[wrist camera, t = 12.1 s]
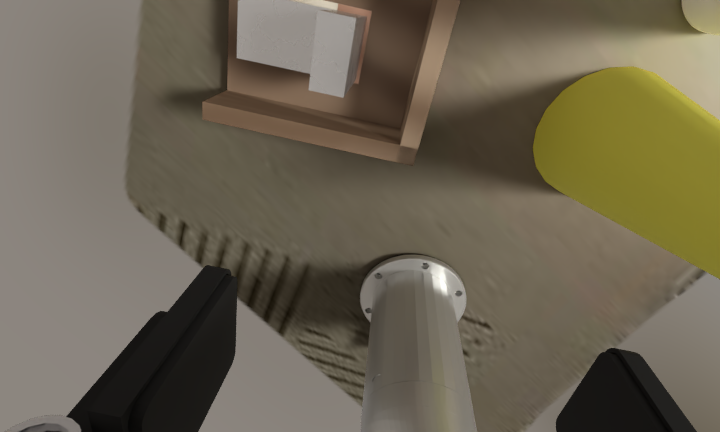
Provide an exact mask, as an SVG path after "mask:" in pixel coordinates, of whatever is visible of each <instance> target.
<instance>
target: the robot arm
mask: <svg viewBox="0 0 720 432" xmlns="http://www.w3.org/2000/svg"><path fill="white" fill-rule="evenodd" d="M360 304H361V308H362V311H363V313H364V315H365V317H366V318H367V319H368V320H369V322H370V333H369V344H368V354H367V364H366V375H365V385H364V396H363V406H362V416H361V432H477V429H476V424H475V418H474V412H473V407H472V402H471V396H470V390H469V385H468V379H467V374H466V368H465V362H464V357H463V351H462V346H461V340H460V335H459V329H458V324H457V322H458V321H459V320H460V318H461V316H462V315H463V313H464V310H465V307H466V293H465V288H464V285H463V282H462V280H461V279H460V277H459V275H458V274H457V273H456V272H455V271H454V270H453V269H452V268H451V267H450V266H448V265H447V264H445V263H444V262H442V261H440V260H437V259H435V258H432V257H428V256H424V255H414V254H412V255H401V256H396V257H392V258H390V259H387V260H385V261H383V262H381V263H380V264H378V265H376V266H375V267H374V268H373V269H372V270H371V271H370V272H369V273H368V274H367V276H366V277H365V279H364V281H363V284H362V286H361V293H360ZM236 310H237V277H234V276H231V271H230V270H229V269H224V268H219V267H214V266H209V265H207V266H205V267H204V268H203V269H202V271H201V272H200V273H199V274H198V276H197V277H196V278H195V279H194V280H193V282H192V283H191V284H190V285H189V287H188V288H187V289H186V290H185V292H184V293H183V294H182V295H181V296H180V297H179V299H178V300H177V301H176V302H175V304H174V305H173V306H172V307H171V308H170V310H169V311H168V312H164V311H160V312H158V313H156V314H155V315H154V316H153V317H152V318H151V319H150V320H149V321H148V322H147V323H146V325H145V326H144V327H143V328H142V329H141V330H140V331H139V333H138V334H137V335H136V336H135V337H134V338H133V340H132V341H131V342H130V343H129V344H128V345H127V347H126V348H125V349H124V350H123V351H122V352H121V354H120V355H119V356H118V357H117V358H116V359H115V361H114V362H113V363H112V364H111V365H110V366H109V368H108V369H107V370H106V371H105V372H104V373H103V374H102V376H101V377H100V378H99V379H98V380H97V382H96V383H95V384H94V385H93V386H92V387H91V389H90V390H89V391H88V392H87V393H86V394H85V396H84V397H83V398H82V399H81V400H80V401H79V403H78V404H77V405H76V406H75V407H74V408H73V409H72V411H71V412H70V413H69V414H68V415H67V416H66V417H65V416H61V415H46V416H41V417H37V418H33V419H29V420H27V421H25V422H22V423H20V424H18V425H16V426H13V427H12V428H10V429H8V430H7V431H5V432H198V431H199V429H200V427H201V425H202V423H203V421H204V419H205V417H206V415H207V413H208V411H209V409H210V407H211V404H212V403H213V401H214V399H215V397H216V395H217V393H218V391H219V389H220V387H221V385H222V383H223V381H224V379H225V377H226V375H227V373H228V371H229V369H230V367H231V365H232V363H233V360H234V356H235V346H236ZM556 431H557V432H697V431H696V430H695V429H694V427H693V426H692V425H691V423H690V422H689V421H688V419H687V418H686V416H685V415H684V414H683V412H682V411H681V410H680V408H679V407H678V405H677V404H676V403H675V401H674V400H673V399H672V397H671V396H670V394H669V393H668V392H667V390H666V389H665V388H664V386H663V385H662V383H661V382H660V381H659V379H658V378H657V377H656V375H655V374H654V372H653V371H652V370H651V368H650V367H649V366H648V364H647V363H646V362H645V360H644V359H643V358H642V357H641V356H640V354H638V353H635V352H631V351H626V350H621V349H616V348H610V349H608V350H607V351H606V352H603V353H601V354H600V355H599V356H598V357H597V359H596V360H595V362H594V363H593V365H592V366H591V368H590V369H589V371H588V372H587V374H586V375H585V377H584V378H583V380H582V381H581V383H580V384H579V386H578V387H577V389H576V390H575V392H574V393H573V395H572V396H571V398H570V399H569V401H568V402H567V404H566V405H565V407H564V408H563V410H562V411H561V413H560V414H559V416H558V418H557V420H556Z"/></svg>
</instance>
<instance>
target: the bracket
mask: <svg viewBox="0 0 720 432" xmlns="http://www.w3.org/2000/svg"><path fill="white" fill-rule="evenodd" d="M366 19H367V16H362V15H358V14H353V13H349V12H344V11H339V10H335V9H330V8H325V7H321V6H316V5H312V4H307V3H302V2H298V1H293V0H238V18H237V58H239V59H244V60H248V61H253V62H257V63H262V64H267V65H271V66H276V67H281V68H285V69H290V70H294V71H299V72H304V73H308V74H310V81H309V90H310V91H314V92H319V93H324V94H328V95H333V96H338V97H342V98H344V96H345V95H346V93H347V92H348V90H349V89H350V87H351V86H352V85H353V83H354V82H355V80H356V76H357V71H358V65H359V59H360V53H361V48H362V42H363V36H364V30H365V25H366Z"/></svg>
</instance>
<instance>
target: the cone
mask: <svg viewBox="0 0 720 432" xmlns="http://www.w3.org/2000/svg"><path fill="white" fill-rule="evenodd" d="M533 153H534V159H535V164H536V168H537V169H538V171H539V172H540V174H541V176H542V177H543V179H544V180H545V182H547V183H548V184H550V185H551V186H552V187H554V188H555V189H557V190H558V191H559V192H561V193H563V194H565V195H567V196H568V197H570V198H572V199H574V200H576V201H578V202H579V203H581V204H583V205H585V206H587V207H589V208H590V209H592V210H594V211H596V212H598V213H600V214H601V215H603V216H605V217H607V218H609V219H611V220H612V221H614V222H616V223H618V224H620V225H622V226H623V227H625V228H627V229H629V230H631V231H632V232H634V233H636V234H638V235H640V236H642V237H643V238H645V239H647V240H649V241H651V242H653V243H654V244H656V245H658V246H660V247H662V248H664V249H665V250H667V251H669V252H671V253H673V254H675V255H676V256H678V257H680V258H682V259H684V260H686V261H687V262H689V263H691V264H693V265H695V266H697V267H698V268H700V269H702V270H704V271H706V272H708V273H709V274H711V275H713V276H715V277H717V278H719V279H720V121H719V120H718V119H717V118H715V117H714V116H713V115H711V114H710V113H709V112H707V111H706V110H704V109H703V108H702V107H700V106H699V105H698V104H696V103H695V102H694V101H692V100H691V99H689V98H688V97H687V96H685V95H684V94H683V93H681V92H680V91H679V90H677V89H676V88H674V87H673V86H672V85H670V84H669V83H668V82H666V81H665V80H664V79H662V78H661V77H659V76H658V75H657V74H655V73H653V72H650V71H646V70H643V69H640V68H637V67H614V68H607V69H604V70H601V71H598V72H595V73H592V74H589V75H586V76H584V77H583V78H581V79H580V80H578V81H577V82H575V83H574V84H572V85H570V86H569V87H567V88H566V89H564V90H563V91H562V92H561V93H560V94H559V95H558V97H557V98H556V99H555V100H554V101H553V102H552V103H551V104H550V105H549V106H548V108H547V109H546V110H545V112H544V114H543V116H542V118H541V120H540V122H539V124H538V126H537V128H536V132H535V138H534V144H533Z"/></svg>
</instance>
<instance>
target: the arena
mask: <svg viewBox="0 0 720 432" xmlns="http://www.w3.org/2000/svg"><path fill="white" fill-rule="evenodd" d="M293 1H298V2H302V3H307V4H312V5H316V6H321V7H325V8H330V9H335V10H339V11H344V12H349V13H353V14H358V15H362V16H367V19H366V25H365V30H364V36H363V42H362V48H361V53H360V59H359V65H358V71H357V76H356V80H355V82H354V83H353V85H352V86H351V87H350V89H349V90H348V92H347V93H346V95H345V96H344V98H342V97H338V96H333V95H328V94H324V93H319V92H314V91H310V90H309V81H310V74H308V73H304V72H299V71H294V70H290V69H285V68H281V67H276V66H271V65H267V64H262V63H257V62H253V61H248V60H244V59H239V58H237V18H238V0H229V18H228V73H227V90H226V91H224V92H222V93H220V94H217V95H215V96H213V97H211V98H209V99H207V100H204V101H202V114H203V120H207V121H212V122H216V123H221V124H225V125H230V126H234V127H239V128H243V129H248V130H252V131H257V132H261V133H266V134H271V135H275V136H280V137H284V138H289V139H293V140H298V141H302V142H307V143H311V144H316V145H320V146H325V147H329V148H334V149H338V150H343V151H347V152H352V153H356V154H361V155H365V156H370V157H375V158H379V159H384V160H388V161H393V162H397V163H402V164H406V165H411V166H413V165H414V162H415V158H416V155H417V151H418V148H419V144H420V141H421V137H422V134H423V130H424V127H425V123H426V120H427V116H428V113H429V109H430V106H431V102H432V99H433V95H434V92H435V88H436V85H437V81H438V78H439V74H440V71H441V67H442V64H443V60H444V57H445V53H446V50H447V46H448V43H449V39H450V36H451V32H452V29H453V25H454V22H455V18H456V15H457V11H458V8H459V4H460V1H461V0H293Z"/></svg>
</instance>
